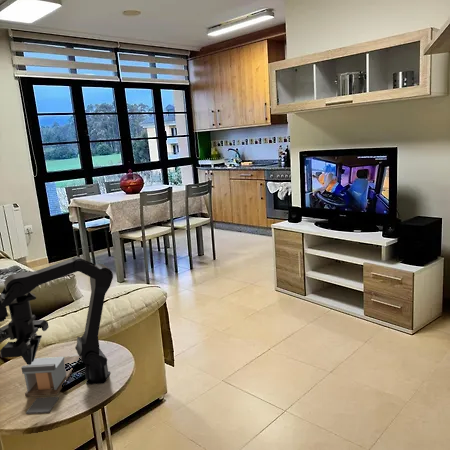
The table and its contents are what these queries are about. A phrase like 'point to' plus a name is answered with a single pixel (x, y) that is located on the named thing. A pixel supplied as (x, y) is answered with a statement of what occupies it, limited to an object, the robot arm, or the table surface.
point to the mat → (42, 405)
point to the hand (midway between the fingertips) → (30, 362)
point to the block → (44, 381)
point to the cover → (45, 370)
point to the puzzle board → (51, 391)
